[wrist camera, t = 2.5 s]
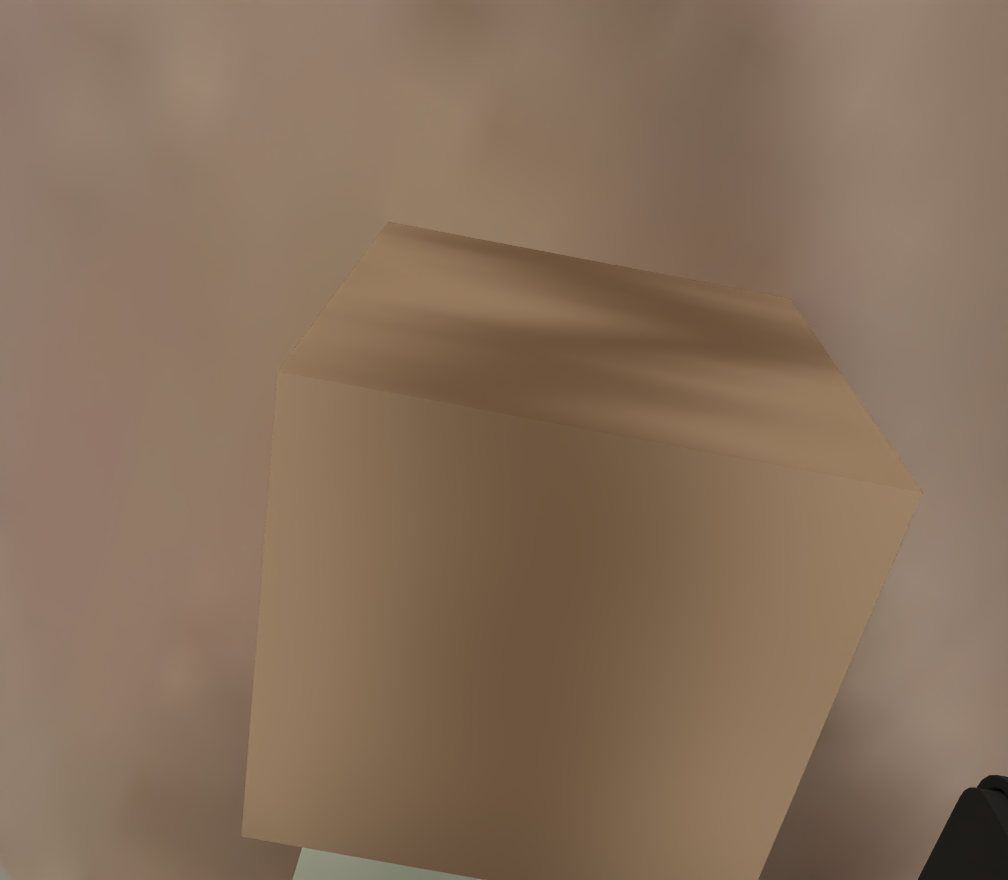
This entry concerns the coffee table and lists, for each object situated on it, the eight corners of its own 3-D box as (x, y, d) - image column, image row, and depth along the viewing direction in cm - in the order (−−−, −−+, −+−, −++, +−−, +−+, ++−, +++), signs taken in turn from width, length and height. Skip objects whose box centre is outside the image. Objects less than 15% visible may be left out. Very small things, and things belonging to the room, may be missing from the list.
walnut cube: (788, 297, 14) (923, 492, 9) (684, 621, 17) (738, 924, 11) (389, 220, 14) (277, 371, 9) (347, 559, 17) (240, 836, 11)
